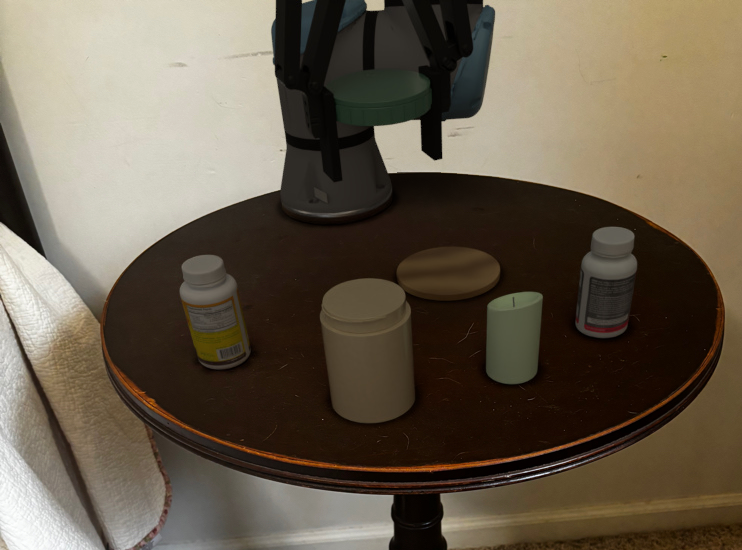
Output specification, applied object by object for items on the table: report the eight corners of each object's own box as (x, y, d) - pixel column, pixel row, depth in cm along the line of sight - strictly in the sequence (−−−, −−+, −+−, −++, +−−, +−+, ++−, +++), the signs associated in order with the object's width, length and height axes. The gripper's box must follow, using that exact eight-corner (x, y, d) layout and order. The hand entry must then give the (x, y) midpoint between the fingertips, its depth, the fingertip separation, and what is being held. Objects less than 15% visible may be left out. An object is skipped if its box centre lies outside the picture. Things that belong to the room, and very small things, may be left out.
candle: (475, 369, 79) (476, 291, 73) (513, 351, 81) (517, 274, 75) (508, 391, 76) (512, 312, 70) (547, 372, 78) (554, 294, 72)
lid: (449, 113, 62) (448, 90, 61) (347, 134, 60) (345, 109, 59) (406, 84, 68) (405, 62, 67) (312, 102, 66) (309, 79, 65)
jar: (320, 388, 78) (305, 288, 70) (395, 367, 80) (388, 268, 72) (348, 432, 72) (336, 330, 65) (429, 408, 74) (425, 306, 67)
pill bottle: (638, 328, 82) (654, 236, 76) (599, 345, 81) (612, 252, 74) (601, 308, 86) (613, 218, 79) (563, 324, 84) (572, 233, 77)
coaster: (381, 266, 95) (380, 260, 95) (471, 244, 98) (471, 238, 98) (422, 310, 87) (422, 304, 87) (518, 285, 90) (519, 278, 90)
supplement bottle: (216, 339, 85) (193, 247, 78) (261, 347, 84) (242, 254, 76) (187, 367, 82) (161, 272, 74) (234, 376, 80) (211, 280, 73)
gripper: (478, -215, 56) (475, 128, 72) (183, -187, 51) (250, 175, 67) (531, -213, 51) (515, 154, 68) (210, -183, 46) (276, 207, 62)
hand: (383, 164), depth 67 cm, fingers closed on lid, 8 cm apart
